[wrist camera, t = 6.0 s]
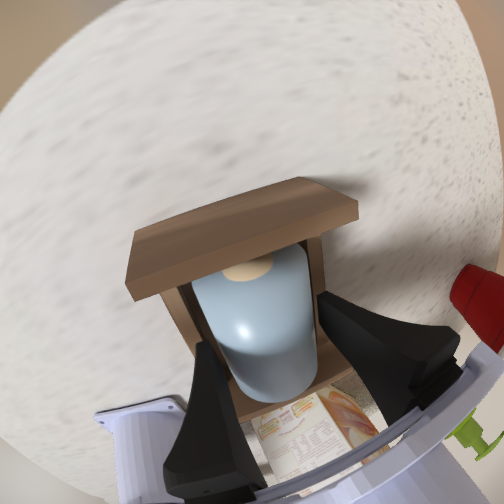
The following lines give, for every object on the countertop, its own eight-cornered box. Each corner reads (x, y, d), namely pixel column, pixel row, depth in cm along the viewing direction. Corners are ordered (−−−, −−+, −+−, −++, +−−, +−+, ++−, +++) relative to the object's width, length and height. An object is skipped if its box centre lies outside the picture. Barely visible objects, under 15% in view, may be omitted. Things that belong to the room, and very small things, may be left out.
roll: (309, 331, 17) (324, 394, 13) (236, 344, 18) (235, 408, 13) (295, 225, 13) (318, 286, 9) (199, 245, 14) (180, 311, 10)
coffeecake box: (355, 397, 29) (434, 503, 13) (312, 428, 30) (380, 536, 13) (302, 364, 21) (425, 544, 5) (242, 408, 22) (329, 584, 5)
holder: (317, 327, 20) (353, 372, 16) (206, 372, 18) (223, 428, 14) (298, 176, 14) (357, 200, 10) (134, 231, 13) (124, 283, 8)
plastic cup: (435, 288, 25) (511, 348, 14) (480, 230, 24) (550, 272, 14) (436, 331, 30) (490, 381, 20) (477, 281, 30) (530, 321, 20)
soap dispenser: (432, 343, 32) (512, 424, 14) (413, 374, 34) (482, 452, 17) (409, 355, 30) (496, 449, 13) (389, 387, 32) (462, 476, 15)
